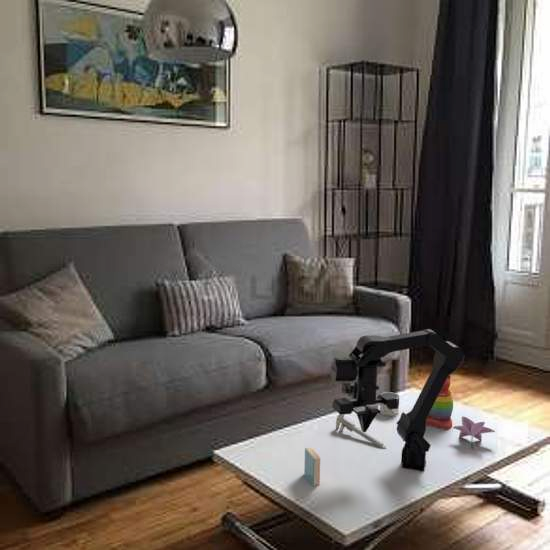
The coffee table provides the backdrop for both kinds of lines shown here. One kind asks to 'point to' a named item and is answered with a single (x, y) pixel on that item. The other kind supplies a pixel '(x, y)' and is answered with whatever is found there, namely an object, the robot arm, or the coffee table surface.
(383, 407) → the mug
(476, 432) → the lily
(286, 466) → the coffee table surface
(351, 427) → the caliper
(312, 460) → the tile
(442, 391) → the stacking bear
